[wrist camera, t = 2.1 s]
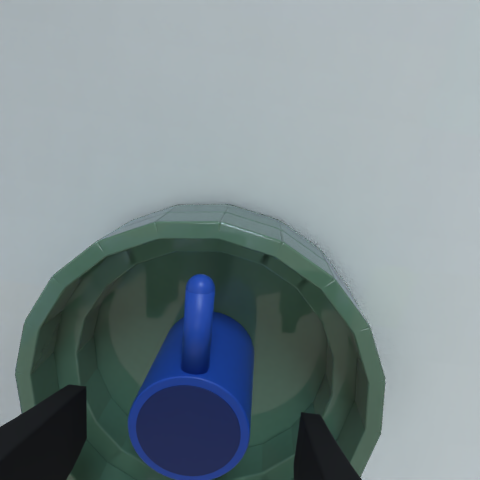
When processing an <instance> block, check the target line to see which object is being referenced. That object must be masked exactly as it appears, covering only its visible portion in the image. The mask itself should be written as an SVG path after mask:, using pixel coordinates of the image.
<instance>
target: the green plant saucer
mask: <svg viewBox="0 0 480 480" xmlns="http://www.w3.org/2000/svg"><path fill="white" fill-rule="evenodd" d="M197 274H204V275H207V276H209V277H210V278H211V279H212V280H213V282H214V285H215V296H214V309H213V312H218V313H221V314H225V315H227V316H229V317H231V318H233V319H234V320H236V321H237V322H238V323H240V324H241V325H242V326H243V327H244V329H245V330H246V331H247V333H248V334H249V336H250V338H251V340H252V343H253V347H254V371H253V389H252V408H251V426H250V440H249V445H248V447H247V450H246V452H245V454H244V456H243V458H242V459H241V460H240V462H239V463H238V464H237V465H236V466H235V467H234V468H233V469H231V470H230V471H229V472H227V473H226V474H224V475H222V476H220V477H217V478H215V479H212V480H294V457H295V451H296V444H297V437H298V430H299V423H300V417H301V412H305V413H313V414H320V415H321V416H322V418H323V420H324V421H325V423H326V425H327V427H328V429H329V430H330V432H331V434H332V435H333V437H334V439H335V440H336V442H337V444H338V445H339V447H340V448H341V450H342V452H343V453H344V455H345V456H346V458H347V459H348V461H349V462H350V464H351V465H352V467H353V468H354V469H355V471H356V472H357V474H358V475H359V476H360V477H361V475H362V473H363V471H364V468H365V466H366V464H367V462H368V460H369V458H370V456H371V454H372V452H373V449H374V447H375V445H376V443H377V441H378V439H379V437H380V435H381V430H382V417H383V405H384V392H385V376H384V372H383V369H382V365H381V362H380V359H379V355H378V352H377V348H376V345H375V341H374V338H373V334H372V331H371V328H370V326H369V324H368V322H367V320H366V318H365V317H364V315H363V313H362V311H361V309H360V308H359V306H358V304H357V302H356V300H355V298H354V297H353V295H352V293H351V291H350V289H349V288H348V286H347V285H346V284H345V282H344V281H343V279H342V278H341V277H340V275H339V274H338V273H337V271H336V270H335V268H334V267H333V266H332V264H331V263H330V262H329V260H328V259H327V257H326V256H325V255H324V253H323V252H322V251H320V249H319V248H318V247H316V246H315V245H313V244H312V243H310V242H309V241H308V240H306V239H305V238H303V237H302V236H301V235H299V234H298V233H296V232H295V231H294V230H292V229H291V228H289V227H288V226H287V225H285V224H284V223H282V222H281V221H279V220H277V219H274V218H271V217H268V216H264V215H261V214H258V213H255V212H252V211H249V210H245V209H242V208H239V207H236V206H233V205H228V204H207V205H175V206H172V207H169V208H166V209H163V210H160V211H157V212H154V213H151V214H148V215H146V216H143V217H140V218H137V219H134V220H131V221H130V222H128V223H126V224H124V225H123V226H121V227H119V228H118V229H116V230H115V231H113V232H111V233H109V234H108V235H106V236H105V237H103V238H101V239H100V240H98V241H96V242H95V243H94V244H92V245H91V246H90V247H88V248H87V249H86V250H85V251H83V252H82V253H81V254H80V255H78V256H77V257H76V258H74V259H73V260H72V261H71V262H69V263H68V264H67V265H65V266H64V267H63V268H62V269H60V270H59V271H58V272H56V273H55V274H54V275H53V277H51V279H50V280H49V282H48V284H47V285H46V287H45V288H44V290H43V292H42V293H41V295H40V297H39V298H38V300H37V302H36V303H35V305H34V306H33V308H32V310H31V311H30V313H29V315H28V316H27V318H26V320H25V323H24V326H23V331H22V337H21V342H20V348H19V353H18V358H17V364H16V369H15V376H16V382H17V388H18V394H19V400H20V406H21V412H22V414H23V413H24V412H26V411H27V410H29V409H31V408H32V407H34V406H35V405H37V404H38V403H40V402H42V401H43V400H45V399H46V398H48V397H49V396H51V395H52V394H54V393H55V392H57V391H59V390H60V389H62V388H63V387H65V386H67V385H69V384H70V385H78V386H86V390H87V439H86V441H85V443H84V446H83V448H82V450H81V452H80V455H79V457H78V459H77V461H76V463H75V465H74V467H73V469H72V471H71V473H70V474H69V476H68V478H67V479H66V480H175V479H172V478H169V477H166V476H164V475H162V474H160V473H158V472H156V471H155V470H153V469H152V468H151V467H149V466H148V465H147V464H146V463H145V462H144V461H143V460H142V459H141V458H140V457H139V455H138V454H137V453H136V451H135V449H134V447H133V445H132V443H131V440H130V437H129V432H128V416H129V412H130V409H131V406H132V404H133V402H134V400H135V398H136V396H137V394H138V392H139V390H140V388H141V386H142V384H143V382H144V380H145V378H146V376H147V374H148V372H149V370H150V368H151V366H152V364H153V362H154V360H155V358H156V356H157V354H158V352H159V350H160V348H161V346H162V344H163V342H164V340H165V338H166V336H167V334H168V332H169V331H170V329H171V328H172V327H173V325H174V324H175V323H176V322H178V321H179V320H180V319H182V318H183V317H184V309H185V292H186V284H187V282H188V280H189V279H190V278H191V277H192V276H194V275H197Z"/></svg>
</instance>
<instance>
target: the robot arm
mask: <svg viewBox="0 0 480 480" xmlns="http://www.w3.org/2000/svg"><path fill="white" fill-rule="evenodd" d="M86 439H87V390H86V386H78V385H70V384H69V385H67V386H65V387H63V388H62V389H60V390H59V391H57V392H55V393H54V394H52V395H51V396H49V397H48V398H46V399H45V400H43V401H42V402H40V403H38V404H37V405H35V406H34V407H32V408H31V409H29V410H27V411H26V412H24V413H23V414H21V415H19V416H18V417H16V418H15V419H13V420H11V421H10V422H8V423H6V424H4V425H3V426H1V427H0V480H66V479H67V478H68V476H69V474H70V473H71V471H72V469H73V467H74V465H75V463H76V461H77V459H78V457H79V455H80V452H81V450H82V448H83V446H84V443H85V441H86ZM294 480H362V479H361V478H360V476H359V475H358V474H357V472H356V471H355V469H354V468H353V467H352V465H351V464H350V462H349V461H348V459H347V458H346V456H345V455H344V453H343V452H342V450H341V448H340V447H339V445H338V444H337V442H336V440H335V439H334V437H333V435H332V434H331V432H330V430H329V429H328V427H327V425H326V423H325V421H324V420H323V418H322V416H321V415H320V414H313V413H305V412H301V417H300V423H299V430H298V437H297V444H296V451H295V457H294Z"/></svg>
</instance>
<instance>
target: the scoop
mask: <svg viewBox="0 0 480 480" xmlns="http://www.w3.org/2000/svg"><path fill="white" fill-rule="evenodd" d="M214 296H215V285H214V282H213V280H212V279H211V278H210V277H209V276H207V275H204V274H197V275H194V276H192V277H191V278H190V279H189V280H188V282H187V284H186V292H185V309H184V317H183V318H182V319H180V320H179V321H178V322H176V323H175V324H174V325H173V327H172V328H171V329H170V331H169V332H168V334H167V336H166V338H165V340H164V342H163V344H162V346H161V348H160V350H159V352H158V354H157V356H156V358H155V360H154V362H153V364H152V366H151V368H150V370H149V372H148V374H147V376H146V378H145V380H144V382H143V384H142V386H141V388H140V390H139V392H138V394H137V396H136V398H135V400H134V402H133V404H132V406H131V409H130V412H129V416H128V432H129V437H130V440H131V443H132V445H133V447H134V449H135V451H136V453H137V454H138V455H139V457H140V458H141V459H142V460H143V461H144V462H145V463H146V464H147V465H148V466H149V467H151V468H152V469H153V470H155V471H156V472H158V473H160V474H162V475H164V476H166V477H169V478H172V479H175V480H212V479H215V478H217V477H220V476H222V475H224V474H226V473H227V472H229V471H230V470H231V469H233V468H234V467H235V466H236V465H237V464H238V463H239V462H240V460H241V459H242V458H243V456H244V454H245V452H246V450H247V447H248V445H249V440H250V426H251V408H252V389H253V371H254V347H253V343H252V340H251V338H250V336H249V334H248V333H247V331H246V330H245V329H244V327H243V326H242V325H241V324H240V323H238V322H237V321H236V320H234V319H233V318H231V317H229V316H227V315H225V314H221V313H218V312H213V309H214Z"/></svg>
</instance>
